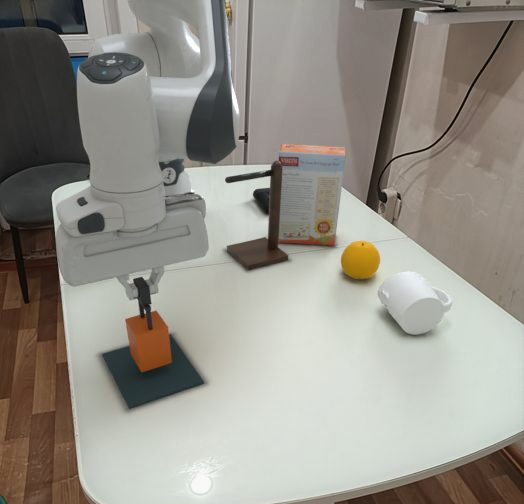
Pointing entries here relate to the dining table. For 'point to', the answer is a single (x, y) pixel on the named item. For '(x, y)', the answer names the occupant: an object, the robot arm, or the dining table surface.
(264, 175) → the hook stand
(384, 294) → the mug
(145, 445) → the dining table surface
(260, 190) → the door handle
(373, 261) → the orange round ball
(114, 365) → the mat
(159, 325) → the tall orange prism
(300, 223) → the cracker box
